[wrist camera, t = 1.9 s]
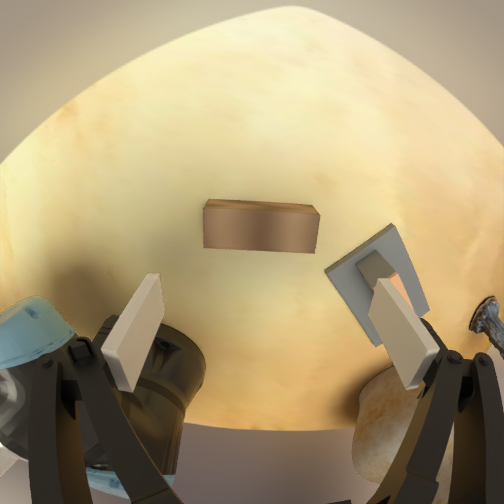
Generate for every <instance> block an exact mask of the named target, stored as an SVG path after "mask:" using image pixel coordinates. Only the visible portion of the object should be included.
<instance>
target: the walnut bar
mask: <svg viewBox="0 0 504 504" xmlns="http://www.w3.org/2000/svg"><path fill="white" fill-rule="evenodd" d="M319 221H320V214H319V213H318V212H317V211H316V209H315V208H314V207H313V206H312V205H303V204H290V203H276V202H260V201H241V200H218V199H209V200H208V202H207V204H206V205H205V207H204V248H216V249H236V250H256V251H275V252H294V253H313V254H315V248H316V241H317V235H318V228H319Z"/></svg>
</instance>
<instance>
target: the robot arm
mask: <svg viewBox="0 0 504 504" xmlns="http://www.w3.org/2000/svg"><path fill="white" fill-rule="evenodd" d="M164 314H165V307H164V301H163V295H162V288H161V281H160V274H154V273H147V275H146V276H145V278H144V279H143V281H142V282H141V284H140V285H139V287H138V289H137V290H136V292H135V293H134V295H133V296H132V298H131V299H130V301H129V303H128V304H127V306H126V307H125V309H124V311H123V312H122V314H121V315H120V316H116V315H112V316H111V317H110V318H108V319H107V320H106V321H105V322H104V324H103V326H102V328H101V329H100V330H99V332H98V333H97V335H96V336H95V338H94V340H93V341H92V342H91V340H90V339H89V338H87V337H78V335H77V334H76V333H75V330H74V329H73V327H72V326H71V325H70V324H69V323H67V322H66V321H65V320H64V318H63V317H62V316H61V315H60V313H59V312H58V311H57V310H56V308H55V307H54V306H53V304H52V303H51V302H50V301H49V300H47V299H46V298H44V297H41V296H32V297H29V298H26V299H24V300H22V301H20V302H18V303H16V304H15V305H13V306H11V307H10V308H8V309H6V310H5V311H3V312H2V313H0V477H1V476H2V475H3V474H4V473H5V472H6V471H7V470H8V469H9V468H10V467H11V466H12V465H13V464H14V463H15V462H16V460H18V459H20V460H23V461H27V462H29V479H30V490H31V498H32V504H93V501H92V497H91V493H90V488H89V487H92V488H95V489H97V490H100V491H103V492H106V493H109V494H112V495H116V496H120V497H124V498H128V499H130V500H131V504H184V503H183V502H182V501H181V500H180V498H179V497H178V496H177V495H176V493H175V492H174V491H173V489H172V484H173V480H174V479H175V478H176V475H175V473H176V466H177V460H178V453H179V447H180V440H181V434H182V428H183V422H184V417H185V411H186V409H187V407H188V406H189V404H190V402H191V401H192V399H193V397H194V396H195V394H196V393H197V392H198V390H199V389H200V388H201V386H202V384H203V381H204V376H205V370H206V364H205V359H204V357H203V354H202V353H201V351H200V350H199V348H198V347H197V346H196V345H195V344H194V343H193V342H192V341H191V340H190V339H189V338H188V337H186V336H185V335H184V334H182V333H180V332H179V331H177V330H175V329H173V328H171V327H168V326H166V325H163V324H160V323H161V321H162V318H163V316H164ZM368 316H369V318H370V320H371V322H372V323H373V325H374V327H375V329H376V331H377V333H378V335H379V337H380V339H381V340H382V342H383V344H384V346H385V348H386V350H387V352H388V354H389V356H390V358H391V360H392V362H393V364H394V366H395V368H396V370H397V372H398V374H399V376H400V378H401V381H402V383H403V385H404V387H405V389H406V390H409V389H414V388H418V386H419V385H420V383H421V382H422V380H423V381H424V383H425V386H424V388H423V389H422V391H421V392H420V394H419V395H418V397H417V399H419V401H418V404H417V407H416V409H415V412H414V415H413V417H412V420H411V422H410V425H409V427H408V430H407V432H406V434H405V437H404V439H403V441H402V443H401V445H400V448H399V450H398V452H397V454H396V456H395V458H394V460H393V462H392V464H391V466H390V468H389V470H388V472H387V474H386V475H385V477H384V479H383V481H382V483H381V484H380V486H379V488H378V490H377V491H376V493H375V494H374V495H373V496H372V498H371V499H370V500H369V501H368V502H367V503H366V504H432V503H433V500H434V498H435V495H436V493H437V491H438V487H439V482H437V481H436V477H437V474H438V472H439V469H440V466H441V463H442V460H443V457H444V454H445V451H446V448H447V444H448V441H449V437H450V434H451V430H452V426H453V422H454V446H453V464H452V475H451V484H450V492H449V498H448V504H504V412H503V406H502V400H501V395H500V390H499V385H498V380H497V376H496V372H495V368H494V364H493V361H492V359H491V358H490V357H489V355H487V354H485V353H482V352H479V353H477V354H476V355H475V356H474V358H473V360H470V359H463V357H462V355H460V354H459V353H458V352H456V351H454V350H448V349H447V347H446V346H445V344H444V343H443V342H442V340H441V339H440V337H439V336H438V335H437V333H436V332H435V331H434V330H433V328H432V326H431V325H430V324H429V323H428V322H427V321H426V320H424V319H423V318H418V316H417V315H416V314H415V312H414V311H413V310H412V308H411V307H410V306H409V304H408V303H407V302H406V300H405V299H404V298H403V297H402V295H401V294H400V293H399V291H398V290H397V289H396V288H395V286H394V285H393V284H392V283H391V281H390V280H389V279H388V278H378V280H377V283H376V287H375V291H374V295H373V298H372V302H371V306H370V309H369V312H368ZM419 397H420V398H419ZM329 504H351V500H346V501H341V502H335V503H329Z"/></svg>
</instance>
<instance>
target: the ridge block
mask: <svg viewBox="0 0 504 504" xmlns="http://www.w3.org/2000/svg"><path fill="white" fill-rule="evenodd" d="M325 272H326V274H327V276H328V277H329V278H330V280H331V281H332V283H333V284H334V286H335V287H336V289H337V290H338V291H339V293H340V294H341V296H342V297H343V299H344V300H345V302H346V303H347V305H348V306H349V308H350V309H351V311H352V312H353V314H354V315H355V317H356V318H357V320H358V321H359V323H360V324H361V326H362V327H363V329H364V330H365V332H366V333H367V335H368V337H369V338H370V340H371V341H372V343H373V344H374V346H375V347H377V346H379V345H380V344H382V343H383V342H382V340H381V339H380V337H379V335H378V333H377V331H376V329H375V327H374V325H373V323H372V322H371V320H370V318H369V316H368V312H369V309H370V306H371V302H372V298H373V295H374V291H375V287H376V283H377V280H378V278H388V279H389V280H390V281H391V283H392V284H393V285H394V286H395V288H396V289H397V290H398V291H399V293H400V294H401V295H402V297H403V298H404V299H405V300H406V302H407V303H408V304H409V306H410V307H411V308H412V310H413V311H414V312H415V314H416V315H417V316H418V318H420V317H422V316H423V315H424V314H426V313H427V312H428V311H430V309H429V306H428V303H427V301H426V298H425V295H424V292H423V290H422V287H421V284H420V282H419V279H418V277H417V274H416V272H415V269H414V267H413V264H412V262H411V260H410V257H409V255H408V253H407V250H406V248H405V246H404V244H403V241H402V239H401V237H400V235H399V233H398V231H397V229H396V226H395V225H393V224H392V223H391V224H390V225H389V226H387V227H386V228H385V229H383V230H382V231H380V232H379V233H378V234H376V235H375V236H373V237H372V238H371V239H369V240H368V241H366V242H365V243H364V244H362V245H361V246H359V247H358V248H356V249H355V250H354V251H352V252H351V253H349V254H348V255H346V256H345V257H343V258H342V259H341V260H339V261H338V262H336V263H335V264H333V265H332V266H330V267H329V268H327V269H326V270H325Z"/></svg>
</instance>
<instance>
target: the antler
mask: <svg viewBox="0 0 504 504" xmlns="http://www.w3.org/2000/svg"><path fill="white" fill-rule="evenodd" d="M498 313H499V304H498V303H497V300H496V297H493V298H492V297H491V298H489V299H487V300H486V302H485V303H484V304H483V305H481V306H480V307H479V309H478V310H477V312H476V314H475V316H474V318H473V320H472V322H471V326H470V329H469V330H471V331H474V332H475V333H476V334H478V333H479V332H485V333H486V335H487V336H488V337H489V341H490V342H491V343H492V344H493V345H494V347H495V348H497V349H498V350H499V351H500V355H501V357H503V359H504V324H503V323H502V321H501V320H500V319H499V317H498V316H497V315H498Z"/></svg>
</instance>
